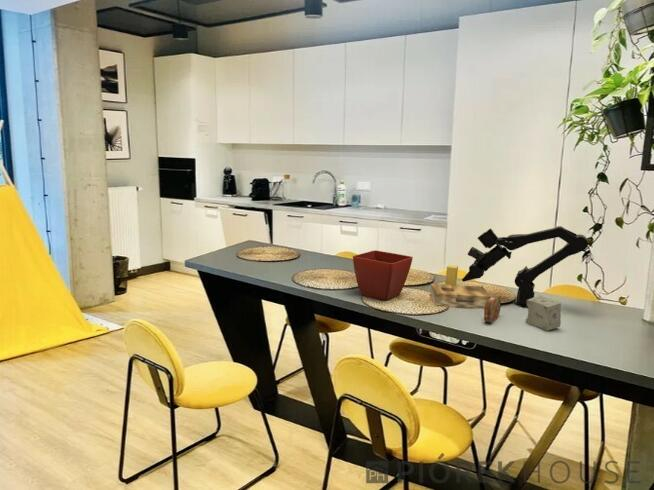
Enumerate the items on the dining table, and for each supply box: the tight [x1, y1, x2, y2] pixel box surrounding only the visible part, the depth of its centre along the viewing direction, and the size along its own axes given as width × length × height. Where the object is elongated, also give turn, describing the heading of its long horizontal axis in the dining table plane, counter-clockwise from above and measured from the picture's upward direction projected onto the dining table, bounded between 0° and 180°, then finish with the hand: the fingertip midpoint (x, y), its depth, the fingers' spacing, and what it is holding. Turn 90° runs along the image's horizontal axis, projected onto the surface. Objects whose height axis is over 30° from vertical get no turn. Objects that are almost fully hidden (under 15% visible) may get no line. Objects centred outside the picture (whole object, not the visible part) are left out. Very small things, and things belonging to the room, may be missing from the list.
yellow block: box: [444, 264, 459, 285], centre depth 228 cm, size 4×4×12 cm
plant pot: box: [352, 250, 413, 301], centre depth 220 cm, size 19×19×17 cm
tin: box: [483, 295, 502, 324], centre depth 196 cm, size 15×3×8 cm, turn 148°
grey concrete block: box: [525, 295, 562, 332], centre depth 191 cm, size 10×8×10 cm
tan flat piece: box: [429, 283, 493, 309], centre depth 216 cm, size 22×16×5 cm
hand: (464, 278), depth 226 cm, fingers open, 9 cm apart
